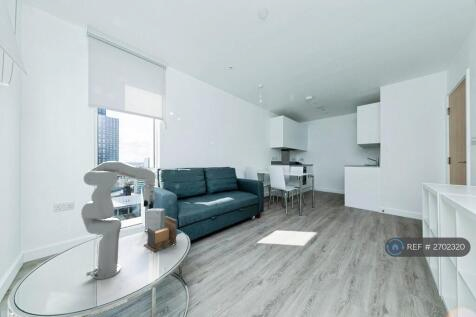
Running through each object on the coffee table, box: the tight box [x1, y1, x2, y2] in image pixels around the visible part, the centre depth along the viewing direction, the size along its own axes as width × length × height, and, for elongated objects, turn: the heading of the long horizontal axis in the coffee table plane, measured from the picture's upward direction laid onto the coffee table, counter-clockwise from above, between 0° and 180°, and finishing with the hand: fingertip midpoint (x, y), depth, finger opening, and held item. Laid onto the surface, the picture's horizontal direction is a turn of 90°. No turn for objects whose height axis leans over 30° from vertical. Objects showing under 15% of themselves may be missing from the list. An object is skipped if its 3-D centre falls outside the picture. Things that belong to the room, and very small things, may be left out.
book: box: [155, 228, 169, 244], centre depth 139 cm, size 12×4×10 cm, turn 142°
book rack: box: [143, 215, 178, 253], centre depth 139 cm, size 18×16×19 cm
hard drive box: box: [144, 208, 166, 231], centre depth 166 cm, size 16×8×20 cm, turn 84°
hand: (148, 207), depth 141 cm, fingers open, 9 cm apart
